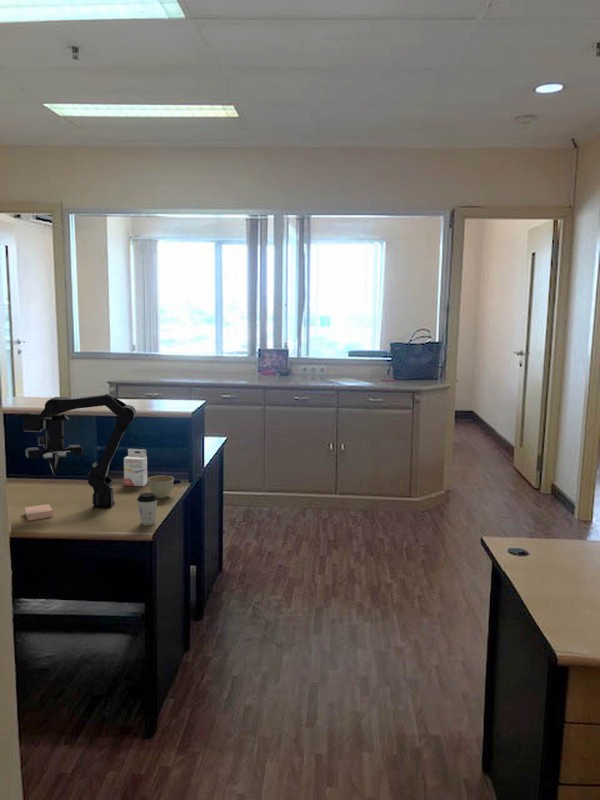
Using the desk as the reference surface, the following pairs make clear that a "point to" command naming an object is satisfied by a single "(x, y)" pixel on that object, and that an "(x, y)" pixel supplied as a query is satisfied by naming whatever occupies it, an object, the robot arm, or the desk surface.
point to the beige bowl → (161, 485)
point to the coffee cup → (147, 508)
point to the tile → (38, 512)
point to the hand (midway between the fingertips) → (54, 474)
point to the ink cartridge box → (135, 468)
